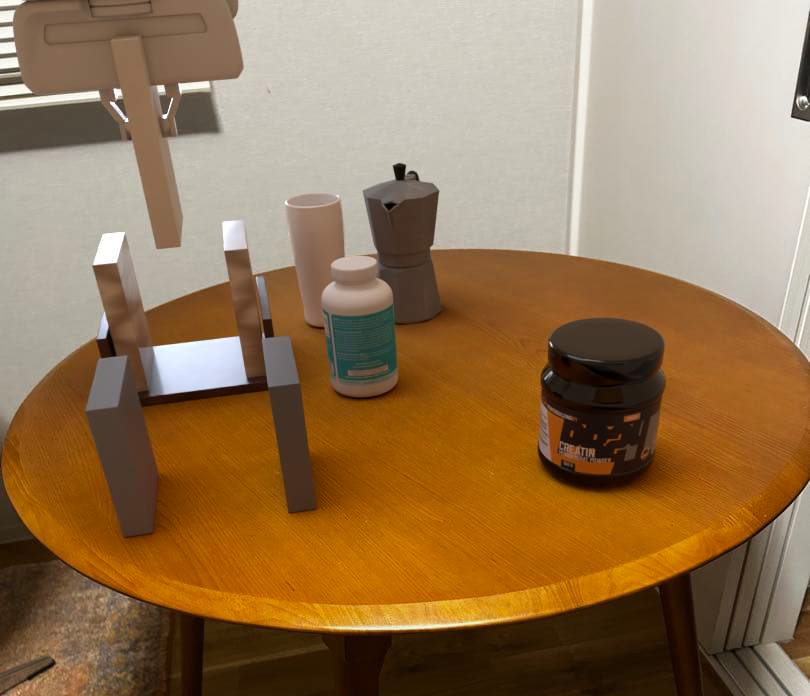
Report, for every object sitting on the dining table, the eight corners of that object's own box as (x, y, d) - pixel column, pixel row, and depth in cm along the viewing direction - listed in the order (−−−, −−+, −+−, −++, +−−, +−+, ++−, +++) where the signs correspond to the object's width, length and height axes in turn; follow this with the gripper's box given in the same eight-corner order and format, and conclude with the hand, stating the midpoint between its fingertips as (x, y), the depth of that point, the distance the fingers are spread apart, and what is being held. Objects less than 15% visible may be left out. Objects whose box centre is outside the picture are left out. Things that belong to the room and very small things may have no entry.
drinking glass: (362, 321, 108) (352, 199, 99) (316, 335, 105) (301, 210, 96) (335, 307, 112) (323, 188, 103) (290, 320, 109) (274, 199, 100)
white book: (156, 249, 84) (110, 40, 73) (161, 219, 93) (120, 29, 82) (180, 247, 84) (138, 38, 73) (183, 217, 93) (145, 27, 82)
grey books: (123, 537, 71) (84, 410, 64) (131, 477, 79) (98, 358, 72) (317, 509, 73) (299, 383, 66) (306, 452, 81) (289, 334, 74)
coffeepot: (433, 332, 104) (428, 177, 93) (359, 329, 105) (346, 177, 95) (453, 288, 116) (450, 146, 105) (386, 286, 118) (377, 147, 107)
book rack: (115, 409, 91) (76, 271, 82) (125, 357, 102) (92, 231, 93) (282, 388, 93) (261, 251, 84) (273, 339, 104) (255, 214, 95)
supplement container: (514, 468, 77) (518, 345, 70) (574, 423, 83) (583, 305, 76) (617, 506, 71) (633, 376, 64) (674, 454, 78) (694, 330, 71)
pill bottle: (412, 382, 93) (406, 259, 85) (363, 407, 88) (352, 280, 80) (366, 365, 97) (356, 246, 89) (317, 387, 93) (302, 265, 85)
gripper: (231, -40, 79) (254, 122, 87) (3, -25, 76) (49, 141, 84) (233, -39, 73) (257, 134, 82) (-11, -23, 71) (39, 154, 79)
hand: (150, 138), depth 83 cm, fingers closed on white book, 2 cm apart
